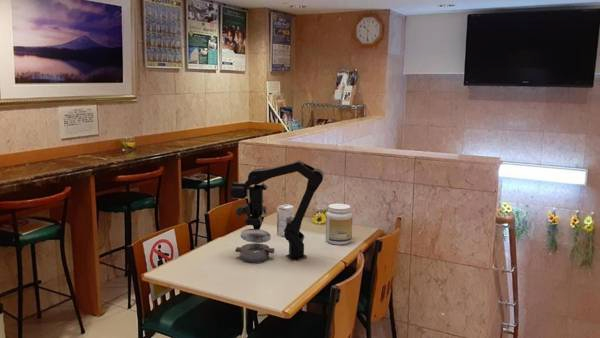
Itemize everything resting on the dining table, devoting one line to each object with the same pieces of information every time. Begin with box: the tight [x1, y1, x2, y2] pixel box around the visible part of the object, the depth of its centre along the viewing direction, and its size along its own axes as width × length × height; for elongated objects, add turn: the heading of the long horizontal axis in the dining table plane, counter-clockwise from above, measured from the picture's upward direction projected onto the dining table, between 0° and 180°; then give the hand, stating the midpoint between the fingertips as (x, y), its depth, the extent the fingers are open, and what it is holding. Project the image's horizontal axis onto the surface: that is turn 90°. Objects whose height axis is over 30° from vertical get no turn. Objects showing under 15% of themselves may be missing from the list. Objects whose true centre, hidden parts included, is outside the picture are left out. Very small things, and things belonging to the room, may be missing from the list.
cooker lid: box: [240, 228, 272, 244], centre depth 210 cm, size 13×13×3 cm
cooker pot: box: [235, 242, 275, 264], centre depth 209 cm, size 13×14×4 cm
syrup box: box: [276, 203, 295, 238], centre depth 240 cm, size 6×6×14 cm
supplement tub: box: [325, 203, 353, 246], centre depth 231 cm, size 12×12×17 cm
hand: (256, 234), depth 212 cm, fingers closed
